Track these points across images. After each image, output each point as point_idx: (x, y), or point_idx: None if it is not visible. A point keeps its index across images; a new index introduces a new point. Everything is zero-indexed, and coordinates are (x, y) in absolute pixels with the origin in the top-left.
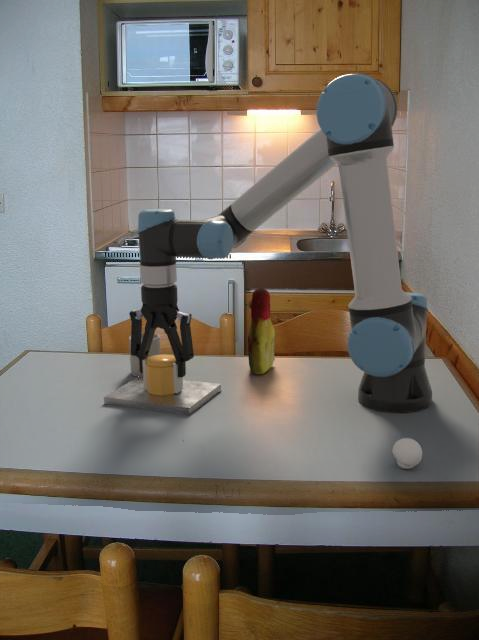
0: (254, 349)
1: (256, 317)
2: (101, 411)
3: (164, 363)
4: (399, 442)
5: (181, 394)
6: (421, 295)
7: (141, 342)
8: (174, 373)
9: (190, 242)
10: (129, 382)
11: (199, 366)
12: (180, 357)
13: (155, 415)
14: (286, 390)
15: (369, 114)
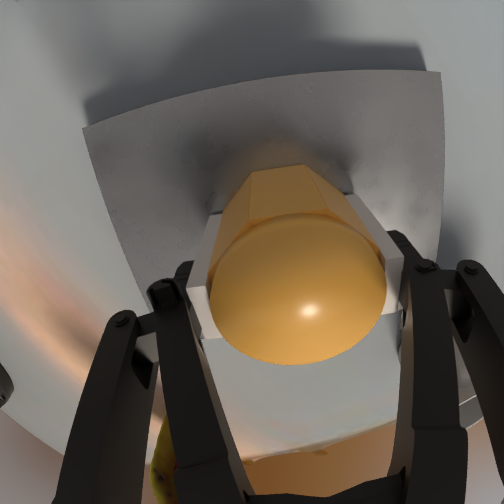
0: (164, 457)
1: None
2: (388, 6)
3: (233, 254)
4: None
5: (194, 219)
6: None
7: (467, 393)
8: (206, 255)
9: None
10: (437, 237)
11: (328, 409)
12: (155, 321)
13: (186, 52)
14: (73, 365)
15: None
